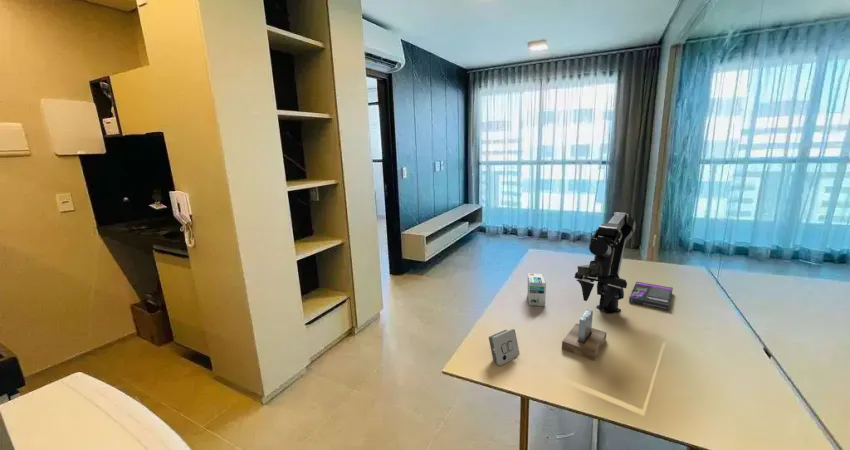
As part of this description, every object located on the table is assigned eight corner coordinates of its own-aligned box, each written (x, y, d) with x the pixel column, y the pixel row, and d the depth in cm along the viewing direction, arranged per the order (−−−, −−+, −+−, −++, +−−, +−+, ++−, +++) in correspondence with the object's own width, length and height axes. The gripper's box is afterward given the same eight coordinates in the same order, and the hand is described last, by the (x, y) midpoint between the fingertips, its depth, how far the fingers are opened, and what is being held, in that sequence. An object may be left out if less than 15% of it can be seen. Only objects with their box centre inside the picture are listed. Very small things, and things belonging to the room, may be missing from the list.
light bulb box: (545, 306, 142) (546, 283, 139) (529, 305, 143) (529, 282, 141) (542, 295, 152) (543, 273, 149) (526, 294, 153) (527, 272, 151)
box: (635, 288, 157) (628, 303, 142) (636, 281, 156) (628, 295, 141) (672, 294, 148) (668, 312, 133) (673, 287, 147) (669, 304, 132)
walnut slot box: (575, 333, 122) (576, 323, 121) (605, 342, 115) (606, 332, 114) (561, 351, 111) (562, 341, 110) (593, 363, 105) (594, 352, 104)
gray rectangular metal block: (585, 338, 117) (587, 309, 114) (590, 340, 115) (592, 311, 113) (577, 349, 111) (579, 319, 108) (583, 351, 110) (585, 321, 107)
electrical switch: (499, 367, 105) (497, 340, 104) (488, 360, 110) (486, 333, 108) (520, 356, 110) (518, 330, 109) (509, 350, 114) (507, 325, 113)
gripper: (566, 253, 126) (558, 294, 125) (605, 256, 108) (595, 303, 107) (590, 260, 129) (582, 300, 128) (632, 264, 111) (623, 310, 109)
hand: (594, 303), depth 118 cm, fingers open, 9 cm apart
